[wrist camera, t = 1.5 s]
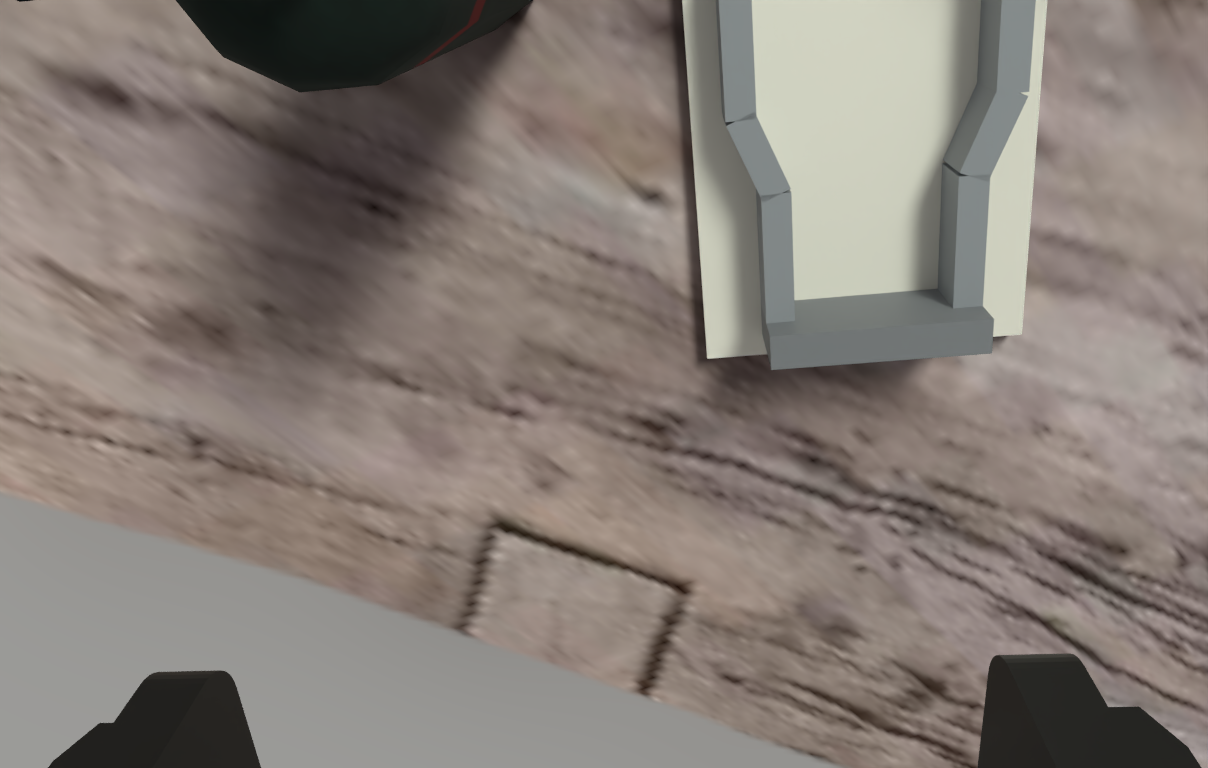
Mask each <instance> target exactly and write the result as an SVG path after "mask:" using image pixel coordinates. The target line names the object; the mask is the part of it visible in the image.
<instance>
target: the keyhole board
mask: <svg viewBox="0 0 1208 768" xmlns="http://www.w3.org/2000/svg"><path fill="white" fill-rule="evenodd" d="M682 8H683V22H684V36H685V51H686V65H687V79H688V94H689V108H690V122H691V137H692V151H693V165H694V180H695V194H696V208H697V223H698V237H699V251H700V266H701V280H702V294H703V309H704V323H705V337H706V351H707V359H711V358H724V357H737V356H750V355H763V354H767V355H768V359H769V363H770V367H771V370H778V369H792V368H805V367H818V366H831V365H844V364H858V363H871V362H884V361H897V360H911V359H924V358H937V357H950V356H963V355H977V354H990V353H992V345H993V337H996V336H1009V335H1022V325H1023V312H1024V299H1025V286H1026V273H1027V260H1028V247H1029V234H1030V220H1031V207H1032V194H1033V181H1034V168H1035V155H1036V142H1037V129H1038V116H1039V103H1040V90H1041V77H1042V63H1043V50H1044V37H1045V24H1046V11H1047V0H682Z"/></svg>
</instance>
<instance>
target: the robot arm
mask: <svg viewBox="0 0 1208 768" xmlns="http://www.w3.org/2000/svg"><path fill="white" fill-rule="evenodd" d="M48 768H261V767H260V763H259V760H258V756H257V754H256V750H255V747H254V743H253V740H252V737H251V733H250V730H249V727H248V724H247V720H246V717H245V714H244V710H243V707H242V704H241V701H240V697H239V694H238V691H237V687H236V685H235V682H234V680H233V678H232V677H231V676H230V674H228V673H227V672H225V671H185V672H184V671H182V672H157V673H153V674H151V675H149V676H148V677H147V678H146V679H145V680H144V681H143V682H142V683H141V684H140V686H139V687H138V689H137V690H136V692H135V693H134V694H133V696H132V698H131V699H130V700H129V702H128V703H127V704H126V706H125V707H124V709H123V710H122V712H121V713H120V715H119V716H118V717H117V719H116V720H115V722H114V723H100V724H98V725H97V726H96V727H94V728H93V729H92V730H91V731H89V732H88V733H87V734H86V735H85V736H83V737H82V738H81V739H80V740H78V741H77V742H76V743H75V744H73V745H72V746H71V747H70V748H69V749H67V750H66V751H65V752H64V753H62V754H61V755H60V756H59V757H58V758H56V759H55V760H54V761H53V762H52V763H51V765H50V766H49V767H48ZM978 768H1201V767H1200V765H1199V763H1198V762H1197V760H1196V759H1195V757H1194V756H1193V754H1192V753H1191V751H1190V750H1189V748H1188V747H1187V746H1186V745H1185V744H1183V743H1182V742H1181V741H1180V740H1179V739H1177V738H1176V737H1175V736H1174V735H1173V734H1171V733H1170V732H1169V731H1168V730H1167V729H1165V728H1164V727H1163V726H1162V725H1161V724H1159V723H1158V722H1157V721H1156V720H1154V719H1153V718H1152V717H1151V716H1150V715H1148V714H1147V713H1146V712H1145V711H1144V710H1142V709H1141V708H1140V707H1108V706H1107V704H1106V703H1105V701H1104V699H1103V697H1102V696H1101V694H1100V692H1099V691H1098V689H1097V687H1096V685H1095V684H1094V682H1093V680H1092V678H1091V677H1090V675H1089V673H1088V672H1087V670H1086V668H1085V666H1084V665H1083V663H1082V662H1081V661H1080V660H1079V658H1078V657H1076V656H1075V655H1074V654H1030V655H997V656H994V657H993V659H992V661H991V663H990V666H989V672H988V680H987V689H986V698H985V707H984V716H983V724H982V733H981V742H980V751H979V760H978Z"/></svg>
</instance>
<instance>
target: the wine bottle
mask: <svg viewBox="0 0 1208 768" xmlns="http://www.w3.org/2000/svg"><path fill="white" fill-rule="evenodd" d="M17 1H19V2H21V1H31V0H17ZM176 1H177V2H178V4H179V5H180V6H181V7H182V8H183V10H184V11H185V12H186V13H187V15H188V16H189V17H190V18H191V19H192V21H193V22H194V23H195V24H196V26H197V27H198V28H199V29H200V30H201V32H202V33H203V34H204V35H205V37H206V38H207V39H208V40H209V41H210V43H211V44H212V45H213V46H214V48H215V49H216V50H217V51H218V52H219V53H220V54H221V55H222V56H223V57H224V58H227V59H229V60H231V61H233V62H235V63H237V64H240V65H242V66H244V67H246V68H248V69H250V70H253V71H255V72H257V73H259V74H261V75H263V76H266V77H268V78H270V79H272V80H274V81H277V82H279V83H281V84H283V85H285V86H287V87H290V88H292V89H294V90H296V91H298V92H308V91H319V90H329V89H340V88H350V87H361V86H372V85H379V84H381V83H383V82H385V81H387V80H389V79H391V78H393V77H396V76H398V75H400V74H402V73H404V72H406V71H408V70H410V69H413V68H415V67H417V66H419V65H421V64H423V63H425V62H427V61H430V60H432V59H434V58H436V57H438V56H440V55H442V54H444V53H447V52H449V51H451V50H453V49H455V48H457V47H459V46H461V45H464V44H466V43H468V42H470V41H472V40H474V39H476V38H478V37H481V36H483V35H485V34H487V33H489V32H491V31H493V30H495V29H497V28H498V27H499V26H500V25H502V24H503V23H504V22H505V21H507V20H508V19H509V18H511V17H512V16H513V15H514V14H516V13H517V12H518V11H519V10H521V9H522V8H523V7H525V6H526V5H527V4H528V3H530V2H531V1H532V0H176Z"/></svg>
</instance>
